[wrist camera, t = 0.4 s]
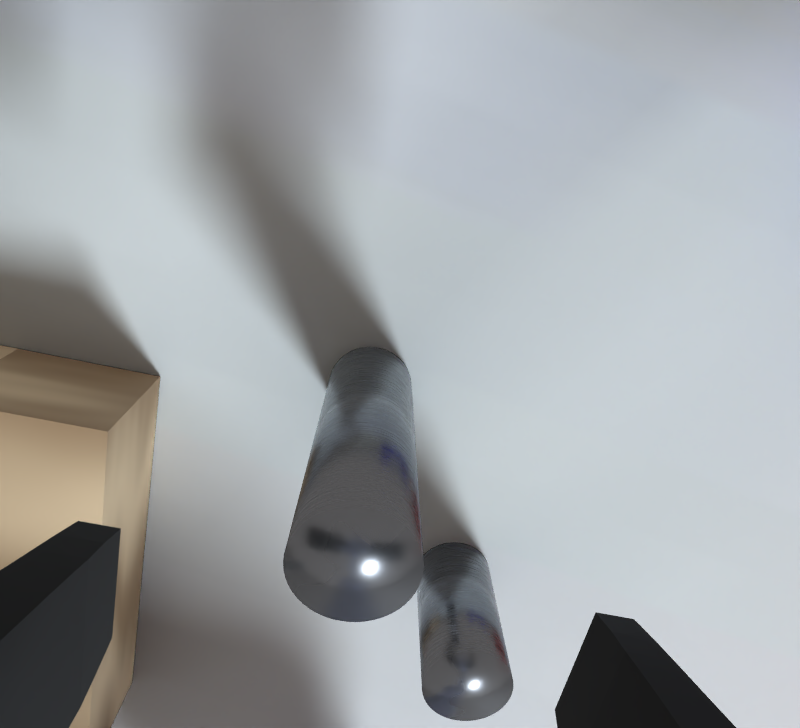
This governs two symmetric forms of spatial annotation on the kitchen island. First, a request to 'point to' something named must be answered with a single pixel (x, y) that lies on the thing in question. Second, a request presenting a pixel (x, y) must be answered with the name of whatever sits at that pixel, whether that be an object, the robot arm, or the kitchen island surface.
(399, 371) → the long pin
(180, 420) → the kitchen island surface
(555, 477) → the kitchen island surface
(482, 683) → the short pin
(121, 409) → the bore block
